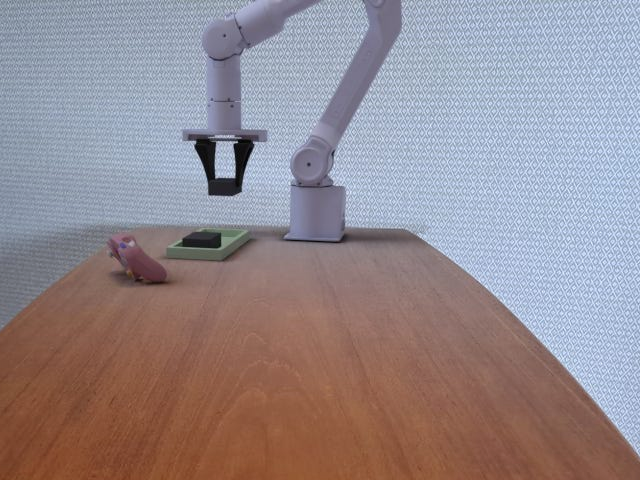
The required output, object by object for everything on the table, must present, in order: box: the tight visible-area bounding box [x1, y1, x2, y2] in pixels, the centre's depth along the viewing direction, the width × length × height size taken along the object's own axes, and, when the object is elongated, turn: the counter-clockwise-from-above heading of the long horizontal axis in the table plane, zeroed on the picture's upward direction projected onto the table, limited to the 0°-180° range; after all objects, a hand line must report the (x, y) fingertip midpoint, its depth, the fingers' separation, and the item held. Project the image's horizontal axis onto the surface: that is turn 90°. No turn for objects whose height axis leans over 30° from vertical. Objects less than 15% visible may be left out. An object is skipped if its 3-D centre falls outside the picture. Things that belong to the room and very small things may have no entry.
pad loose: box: [207, 177, 243, 197], centre depth 117 cm, size 6×4×2 cm
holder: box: [165, 227, 251, 262], centre depth 108 cm, size 18×9×2 cm, turn 166°
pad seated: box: [181, 231, 222, 249], centre depth 104 cm, size 6×4×2 cm
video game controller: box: [106, 232, 167, 283], centre depth 89 cm, size 10×5×7 cm, turn 25°
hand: (225, 185), depth 117 cm, fingers closed on pad loose, 4 cm apart
